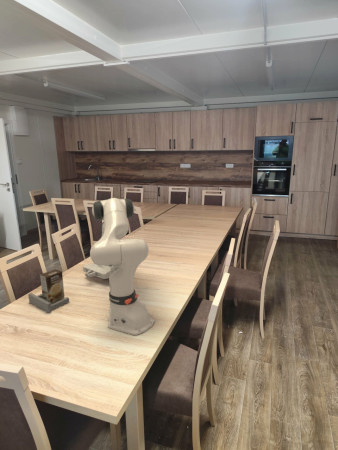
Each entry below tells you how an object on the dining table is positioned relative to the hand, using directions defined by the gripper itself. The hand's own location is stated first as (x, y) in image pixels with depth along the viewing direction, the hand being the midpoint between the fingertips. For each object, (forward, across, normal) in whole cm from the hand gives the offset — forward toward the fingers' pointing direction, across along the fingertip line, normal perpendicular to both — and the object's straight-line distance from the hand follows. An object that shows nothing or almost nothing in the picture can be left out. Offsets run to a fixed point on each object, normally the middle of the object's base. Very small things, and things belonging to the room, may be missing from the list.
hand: (86, 275), depth 172 cm
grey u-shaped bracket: (+25, 0, +6) cm, 26 cm away
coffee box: (+22, 0, +6) cm, 23 cm away
